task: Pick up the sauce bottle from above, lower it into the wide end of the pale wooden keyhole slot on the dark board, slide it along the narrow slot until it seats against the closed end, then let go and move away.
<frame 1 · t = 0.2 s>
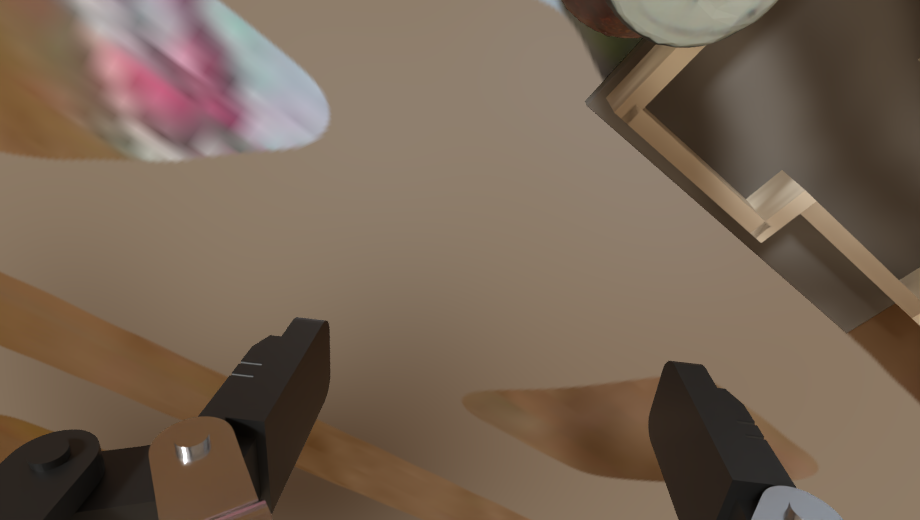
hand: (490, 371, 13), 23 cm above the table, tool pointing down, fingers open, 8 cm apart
keyhole board: (846, 123, 31), on the table
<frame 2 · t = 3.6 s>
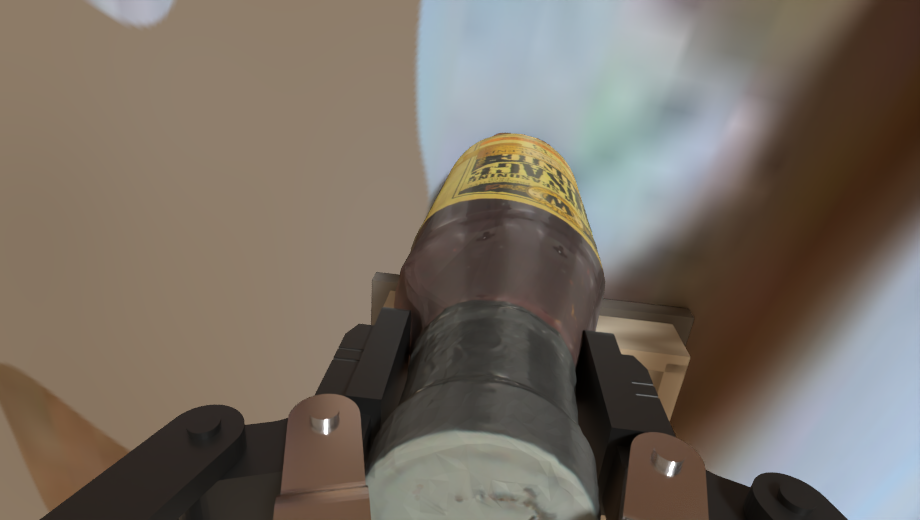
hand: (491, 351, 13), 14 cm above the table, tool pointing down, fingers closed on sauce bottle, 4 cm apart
sauce bottle: (506, 186, 27), on the table, touching gripper
keyhole board: (502, 461, 34), on the table
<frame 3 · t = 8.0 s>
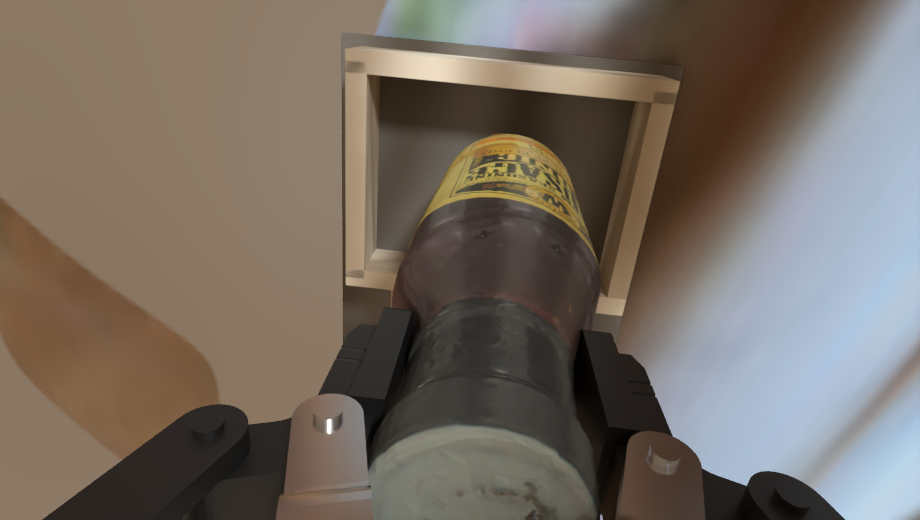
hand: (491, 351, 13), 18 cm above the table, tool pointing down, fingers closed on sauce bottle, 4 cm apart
sauce bottle: (502, 186, 27), point 3 cm above the table, touching gripper
keyhole board: (485, 269, 32), on the table
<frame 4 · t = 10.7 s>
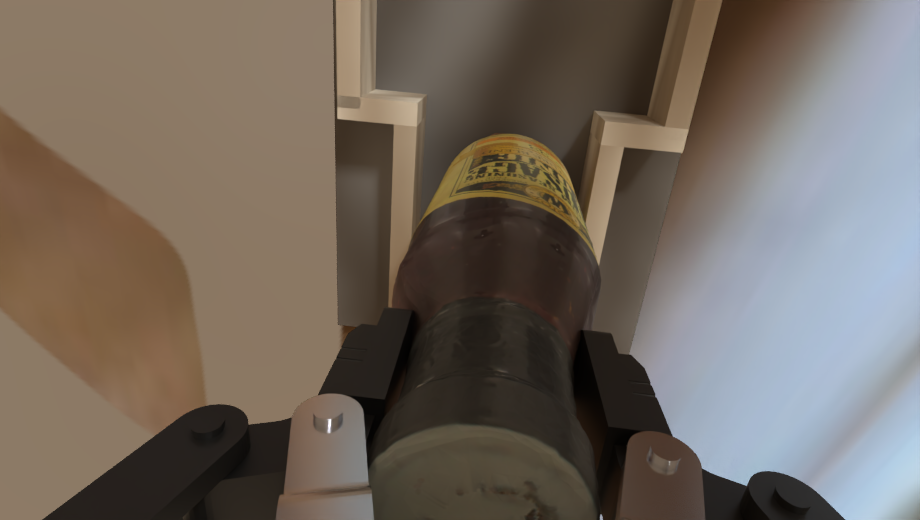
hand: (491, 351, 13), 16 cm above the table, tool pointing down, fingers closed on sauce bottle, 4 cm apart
sauce bottle: (502, 186, 27), point 1 cm above the table, touching gripper
keyhole board: (507, 120, 27), on the table
when the fingers open (16 cm above the table, at t = 12.8 s): sauce bottle stays where it is, resting on keyhole board.
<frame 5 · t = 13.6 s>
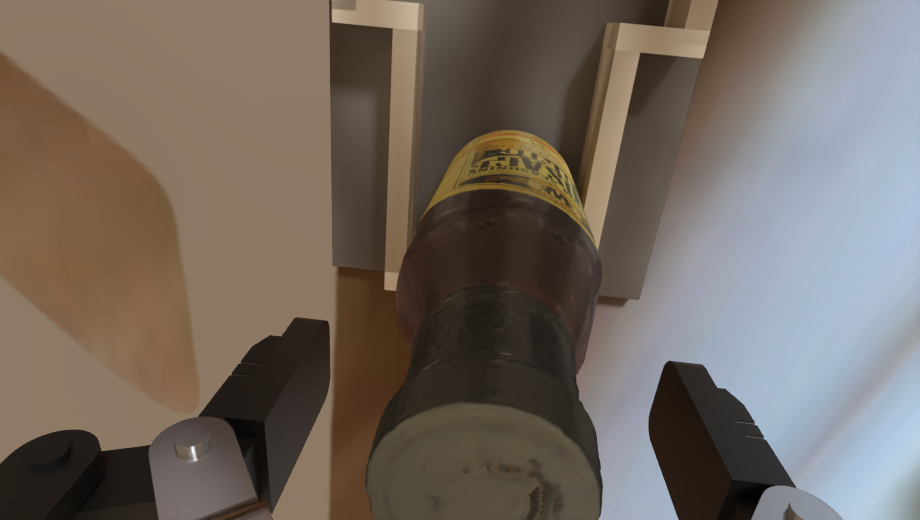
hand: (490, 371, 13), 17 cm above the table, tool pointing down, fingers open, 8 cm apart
sauce bottle: (503, 182, 27), point 1 cm above the table, touching keyhole board
keyhole board: (513, 37, 25), on the table
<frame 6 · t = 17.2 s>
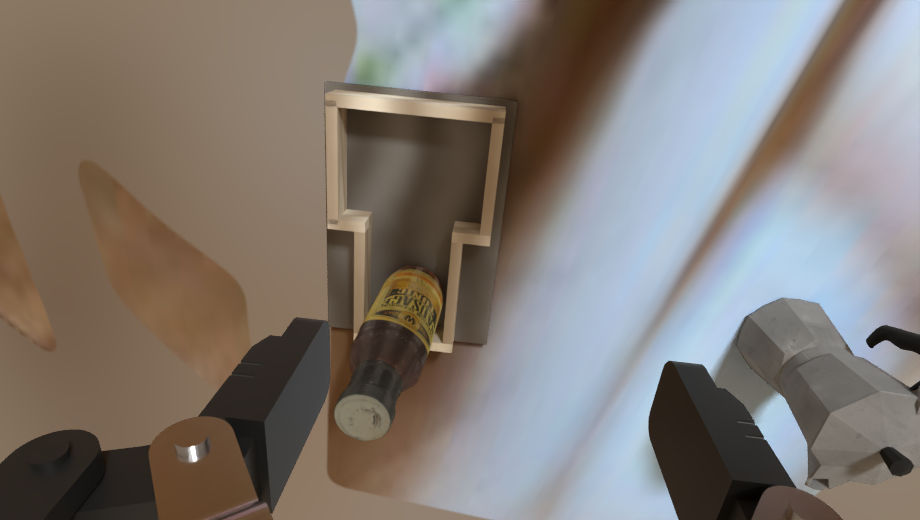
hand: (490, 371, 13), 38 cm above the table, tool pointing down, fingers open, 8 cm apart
sauce bottle: (413, 287, 54), point 1 cm above the table, touching keyhole board
coffeepot: (789, 326, 54), on the table
keyhole board: (414, 222, 52), on the table
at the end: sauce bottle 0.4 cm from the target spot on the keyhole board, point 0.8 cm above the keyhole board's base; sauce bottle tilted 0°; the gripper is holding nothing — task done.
